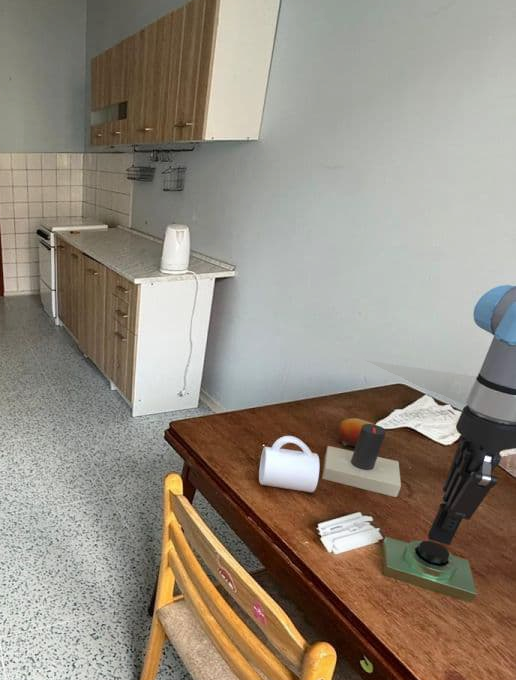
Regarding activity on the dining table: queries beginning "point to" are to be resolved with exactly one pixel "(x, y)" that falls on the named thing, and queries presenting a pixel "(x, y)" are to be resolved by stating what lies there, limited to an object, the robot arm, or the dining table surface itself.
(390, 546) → the button box
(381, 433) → the dark grey cylinder
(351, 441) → the fruit
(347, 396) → the dining table surface
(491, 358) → the robot arm
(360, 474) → the panel
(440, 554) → the button
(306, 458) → the mug
